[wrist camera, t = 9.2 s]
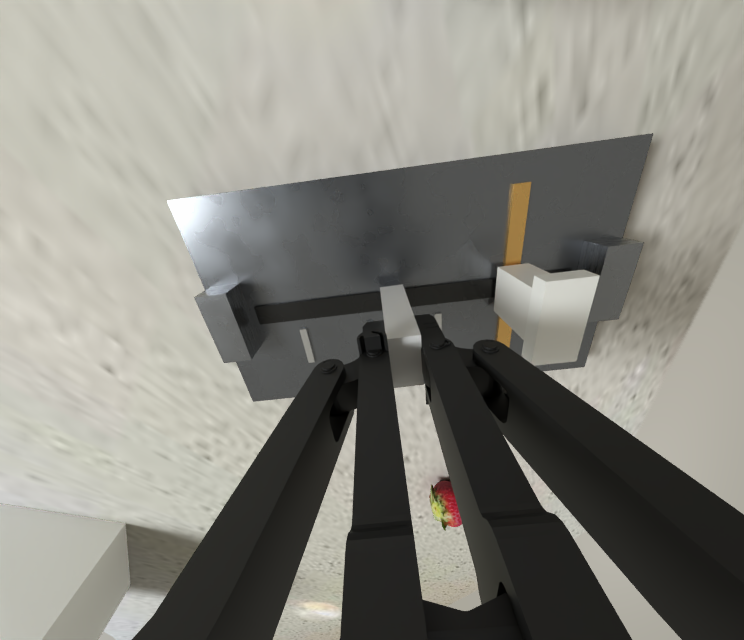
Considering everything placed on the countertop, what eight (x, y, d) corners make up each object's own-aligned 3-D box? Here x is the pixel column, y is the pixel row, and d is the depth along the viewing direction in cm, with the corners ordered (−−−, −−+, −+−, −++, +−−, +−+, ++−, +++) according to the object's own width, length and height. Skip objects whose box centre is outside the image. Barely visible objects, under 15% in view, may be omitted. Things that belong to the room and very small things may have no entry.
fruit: (465, 495, 33) (481, 543, 29) (419, 490, 32) (427, 538, 28) (478, 474, 31) (496, 521, 27) (429, 468, 31) (440, 516, 26)
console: (187, 199, 18) (141, 202, 14) (622, 139, 16) (693, 125, 13) (261, 386, 25) (243, 419, 21) (567, 353, 24) (603, 382, 20)
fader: (495, 255, 17) (546, 282, 12) (533, 250, 17) (600, 275, 12) (489, 321, 19) (530, 366, 14) (523, 317, 19) (576, 361, 14)
